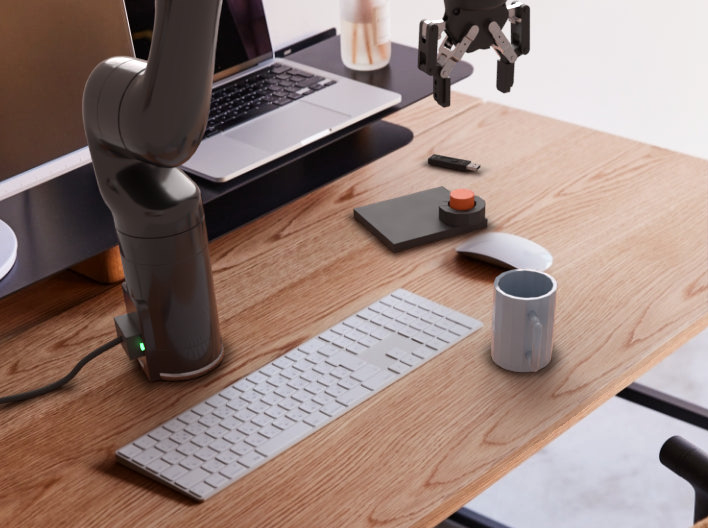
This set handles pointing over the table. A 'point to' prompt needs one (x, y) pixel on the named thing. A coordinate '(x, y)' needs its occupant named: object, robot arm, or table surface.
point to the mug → (523, 319)
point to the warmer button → (462, 199)
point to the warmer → (420, 218)
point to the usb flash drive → (452, 163)
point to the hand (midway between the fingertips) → (473, 98)
